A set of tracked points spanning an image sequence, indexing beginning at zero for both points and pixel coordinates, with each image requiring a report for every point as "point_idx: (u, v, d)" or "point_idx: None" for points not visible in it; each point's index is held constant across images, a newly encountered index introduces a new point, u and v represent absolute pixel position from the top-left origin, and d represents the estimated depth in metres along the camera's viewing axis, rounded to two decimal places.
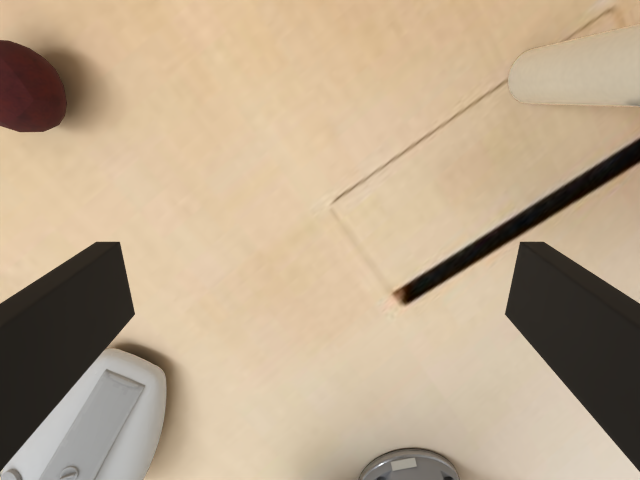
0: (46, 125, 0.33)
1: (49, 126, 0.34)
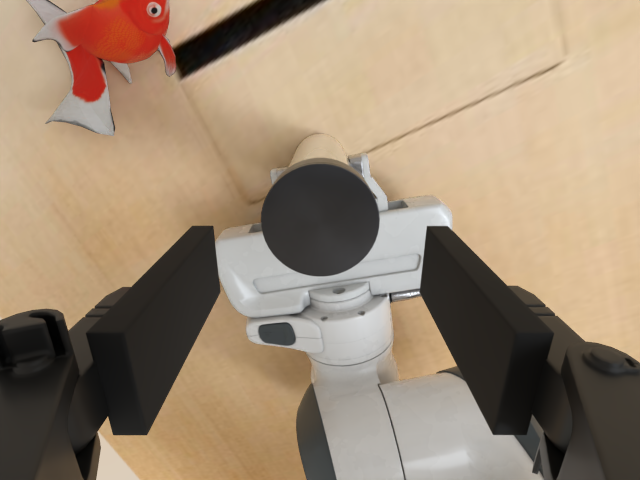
0: None
1: None
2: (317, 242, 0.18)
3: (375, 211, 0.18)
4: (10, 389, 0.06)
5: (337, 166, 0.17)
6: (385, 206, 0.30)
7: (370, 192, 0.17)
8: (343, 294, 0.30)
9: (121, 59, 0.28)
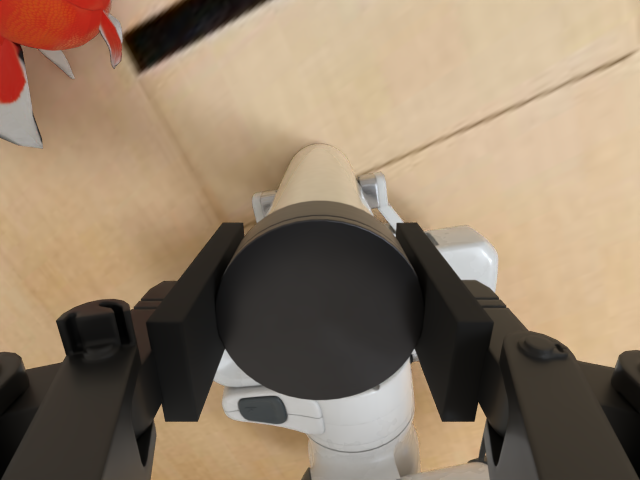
0: None
1: None
2: (315, 349, 0.10)
3: (418, 299, 0.10)
4: (81, 373, 0.06)
5: (351, 224, 0.09)
6: None
7: (410, 268, 0.10)
8: None
9: (45, 44, 0.20)
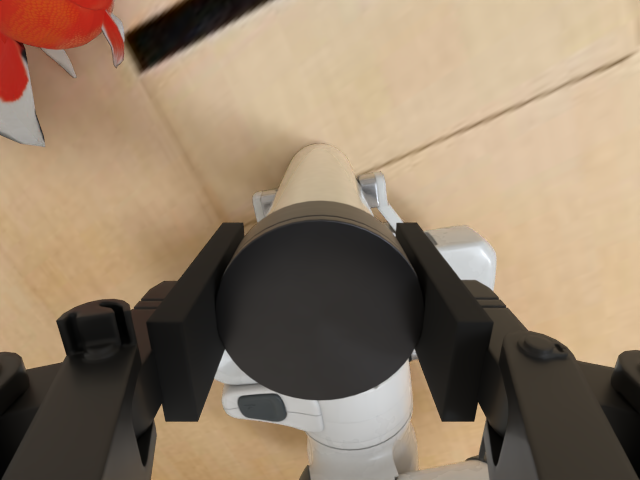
0: None
1: None
2: (353, 306, 0.10)
3: (244, 256, 0.09)
4: (81, 373, 0.06)
5: (223, 343, 0.10)
6: None
7: (222, 281, 0.10)
8: None
9: (48, 43, 0.20)
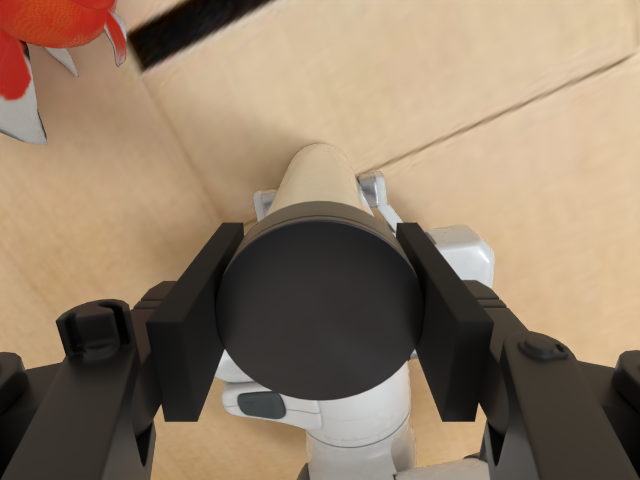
0: None
1: None
2: (288, 302, 0.10)
3: (301, 395, 0.11)
4: (81, 374, 0.06)
5: (393, 373, 0.11)
6: None
7: (333, 398, 0.11)
8: None
9: (50, 42, 0.20)
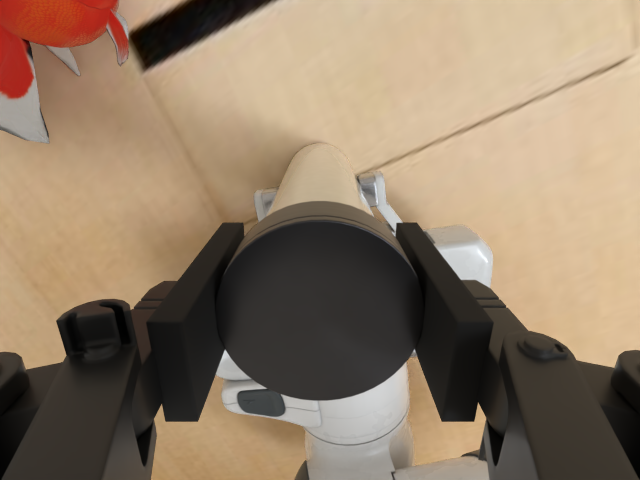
0: None
1: None
2: (319, 349, 0.10)
3: (415, 288, 0.10)
4: (81, 374, 0.06)
5: (335, 221, 0.09)
6: None
7: (402, 257, 0.09)
8: None
9: (53, 41, 0.21)
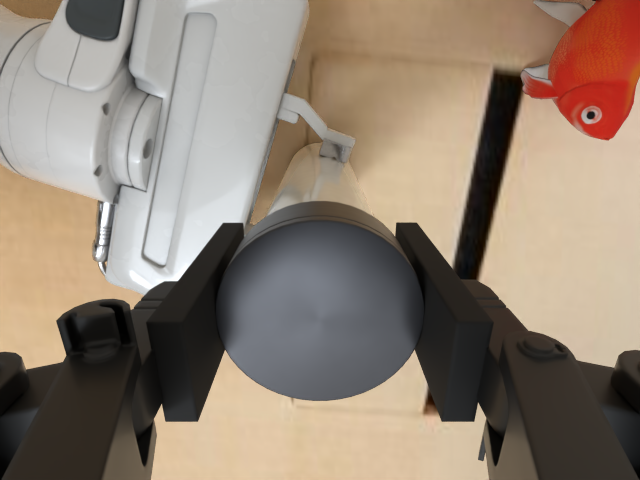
0: None
1: None
2: (319, 349, 0.10)
3: (415, 288, 0.10)
4: (82, 374, 0.06)
5: (335, 221, 0.09)
6: None
7: (402, 258, 0.09)
8: (140, 155, 0.19)
9: (580, 30, 0.21)
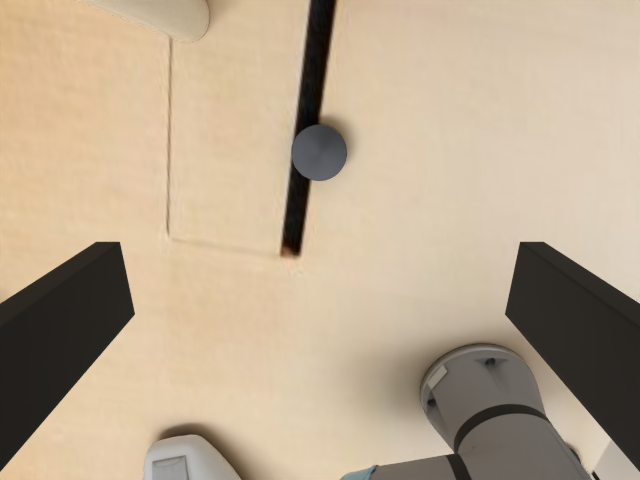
0: None
1: None
2: (319, 163, 0.39)
3: (343, 143, 0.38)
4: None
5: (322, 125, 0.37)
6: None
7: (339, 135, 0.38)
8: None
9: None
